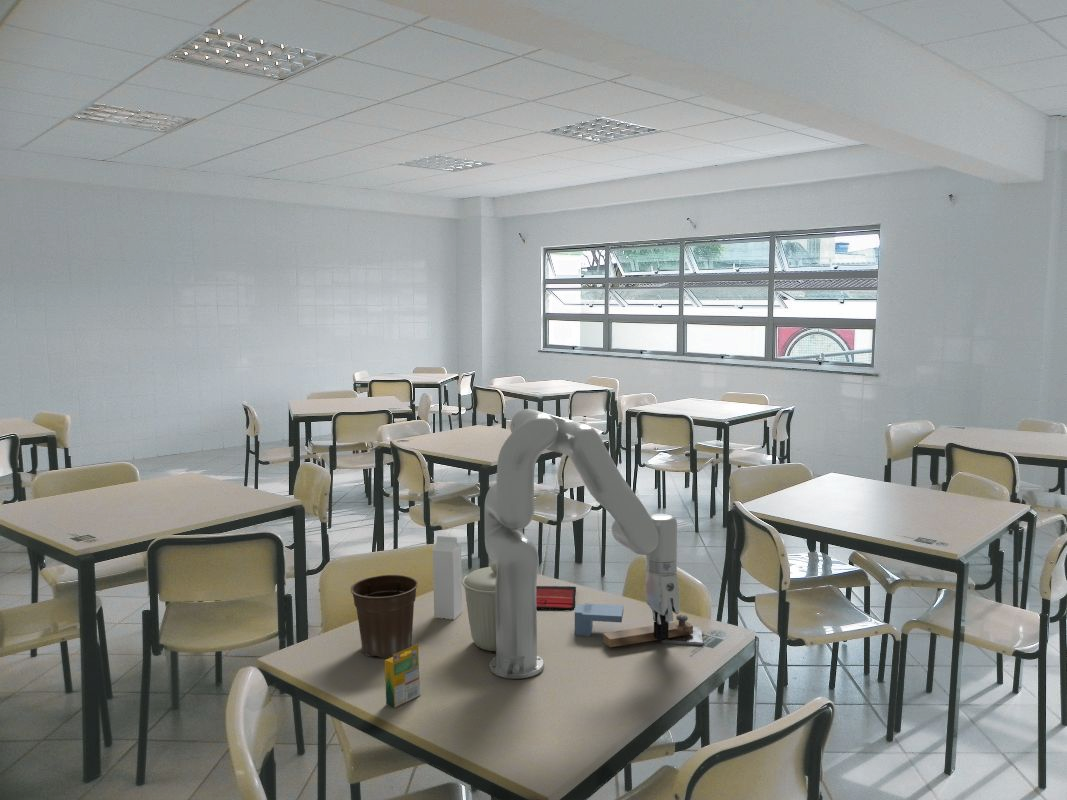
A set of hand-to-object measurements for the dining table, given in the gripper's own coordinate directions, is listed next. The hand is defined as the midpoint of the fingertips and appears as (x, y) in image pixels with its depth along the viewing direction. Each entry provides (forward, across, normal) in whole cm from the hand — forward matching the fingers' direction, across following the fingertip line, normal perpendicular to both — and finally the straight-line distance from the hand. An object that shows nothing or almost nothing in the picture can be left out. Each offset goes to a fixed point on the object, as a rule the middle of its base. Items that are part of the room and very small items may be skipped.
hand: (661, 637), depth 195 cm
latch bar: (+1, +3, +2) cm, 4 cm away
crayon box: (+2, -8, +64) cm, 65 cm away
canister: (+2, +14, +38) cm, 40 cm away
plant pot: (+2, +20, +65) cm, 68 cm away
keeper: (+2, +13, +11) cm, 17 cm away
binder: (+3, +41, +19) cm, 45 cm away
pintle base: (+2, +4, -8) cm, 9 cm away
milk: (+2, +37, +46) cm, 59 cm away
